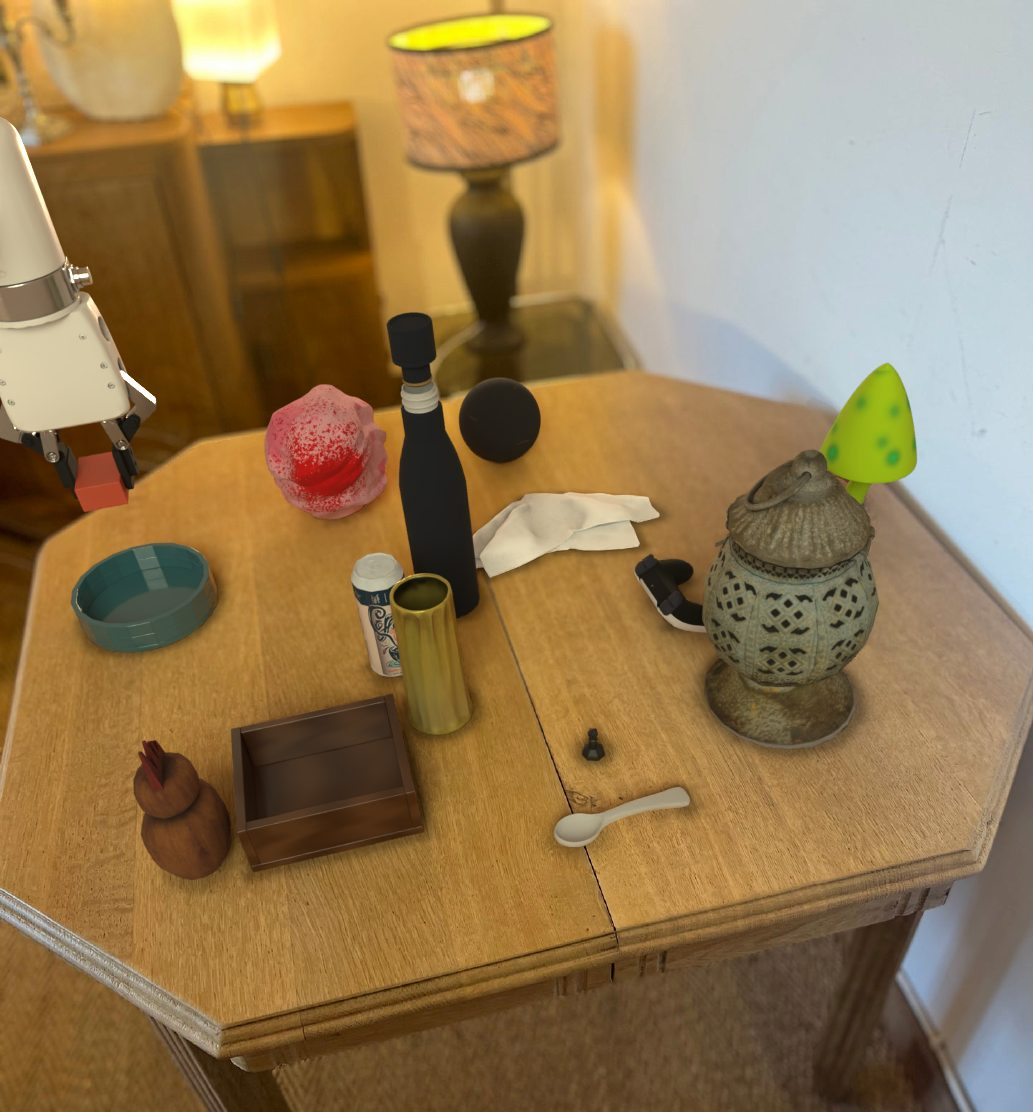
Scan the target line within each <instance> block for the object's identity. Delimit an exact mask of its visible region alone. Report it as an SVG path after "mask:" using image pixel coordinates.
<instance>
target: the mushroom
mask: <svg viewBox="0 0 1033 1112" xmlns="http://www.w3.org/2000/svg"><path fill="white" fill-rule="evenodd" d="M913 417H914V416H913V412H912V407H911V404H910V400H909V396H908V393H907V390H906V388H905V385H904V382H903V381H902V378H901V376H900V374H899V373H898V371H897V369H896V368H895V367H894V366H893V365H892V364H891V363H889V362H885V363H883V364H881V365H879V366H878V367H876V368H875V369H874V370H872V372H870V373H869V374H868V375H867V376H866V377H865V378H864V379H863V380H862V382H861V383H860V384H859V385H858V386H857V387H856V389H855V390H854V391H853V392H852V394H851V396H850V397H849V398H848V399H847V401H846V402H845V404H844V405H843V406H842V408H841V410H840V411H839V413H838V415H837V416H836V418H835V420H834V421H833V424H832V426H830V429H828V430H829V431H828V433H826V436H825V438H824V440H823V441H822V444H821V447H820V449H819V452H821V453H822V454H823V455H824V457H825V458H826V460H827V469H828V470H829V471H830V472H832V473H833V474H835V475H837V476H839V477H842V478H845V479H848V480H849V482H848V485H847V487H846V490H847V492H848V493H849V494H850V495H851V496H852V497H854V498H855V499H856V500H857V501H858V502H859V503H860V504H861V505H862V506H863V503H864V500H865V499H866V496H867V493H868V491H869V490H870V488H871V485H872V484H887V483H893V482H898V481H899V480H902V479H904V478H907V477H908V476H910V475H911V474H912V473H913V472H914V470H916V467H917V464H918V449H917V448H918V447H917V437H916V431H915V424H914V418H913Z"/></svg>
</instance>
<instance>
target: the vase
mask: <svg viewBox="0 0 1033 1112" xmlns="http://www.w3.org/2000/svg"><path fill="white" fill-rule="evenodd" d="M389 598H390V606H391V612H392V617H393V622H394V627H395V633H396V639H397V646H398V652H399V658H400V664H401V670H402V675H401V677H402V682H403V686H404V691H405V695H406V699H407V719H408V722H409V724H410V725H411V726H412V727H413V728H414V729H415V730H417V731H419V732H421V733H423V734H426V735H431V736H443V735H447V734H451V733H453V732H456V731H458V730H460V729H462V727H464V726H465V725H466V724H467V723H468V722H469V721H470V719H471V717H472V716H473V711H474V710H473V709H474V703H473V701H472V699H471V696H470V692H469V687H468V681H467V676H466V668H465V667H466V666H465V663H464V657H463V651H462V645H461V641H460V636H459V628H458V621H457V618H456V614H455V607H454V601H453V594H452V590H451V586H450V584H449V582H448V581H447V580H446V579H444V578H443V577H441V576H439V575H436V574H430V573H421V574H415V575H414V574H411V575H409V576H406V577H405V578H404V579H402V580H400V581H399V582H398V583H396V584H395V585H394V586H393V588H392V590H391V592H390V596H389Z"/></svg>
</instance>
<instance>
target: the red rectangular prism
mask: <svg viewBox="0 0 1033 1112" xmlns="http://www.w3.org/2000/svg"><path fill="white" fill-rule="evenodd" d="M77 461H78V462H77V464H78V470H77V477H76V482H75V492H76V495H77V497H78V499H77V500H78V501H79V504H80V506H81V509H82V510H83V512H84V513H87V512H93V511H98V510H102V509H108V508H114V507H119V506H124V505H129V495H130V494H129V493H130V490H128V489H126V487H125V485H124V482H123V479H122V477H121V474H119V471H118V469H117V466H116V464H115V461H114V458H113V456H112V451H108V452H103V453H96V454H91V455H86V456H79V457H78V460H77Z"/></svg>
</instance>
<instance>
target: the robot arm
mask: <svg viewBox="0 0 1033 1112" xmlns="http://www.w3.org/2000/svg"><path fill="white" fill-rule="evenodd" d="M91 285H94V282H93V276H92V274H91V271H90V268H89V267H88V266H85V267H78V266H74V265H73V264H72V263H70V261H69V258H68V257H67V256H65V254H64V250H63V248H62V245H61V243H60V240H59V237H58V235H57V232H56V229H55V226H54V224H53V220H52V218H51V215H50V213H49V210H48V207H47V205H46V202H45V199H44V196H43V194H42V191H41V189H40V185H39V183H38V180H37V178H36V174H35V172H34V169H33V167H32V163H31V162H30V158H29V156H28V153H27V150H26V148H25V145H24V144H23V141H22V138H21V135H20V134H19V132H18V131H17V128H16V127H15V126H14V125H13V124H12V123H11V122H10V121H9V120H7V119H6V118H4V117H2V116H0V400H1V405H0V439H2V440H5V441H9V442H12V443H14V444H15V443H16V444H21V445H22V446H23V447H25V448H27V449H29V450H31V451H33V452H35V453H37V454H39V455H41V456H43V457H44V458H45V461H47V462H49V463H51V464H52V465H53V466H54V468H55V472H56V473H57V475H58V478H59V480H60V482H61V484H62V487H63V488H64V489H70V491H71V494H72V496H73V498H74V500H79V499H78V497H77V495H76V492H75V482H76V477H77V470H78V462H77V459H76V457H75V455H74V452H73V450H72V448H71V447H69V445H68V444H66V443H64V442H63V441H62V437H61V432H60V430H62V429H68V428H69V429H70V428H74V427H81V426H85V425H91V424H97V423H100V424H101V426H102V428H103V429H104V431H105V432H106V434H107V437H109V439H110V441H111V445H112V449H111V450H112V451H111V452H112V456H113V458H114V461H115V464H116V466H117V469H118V471H119V474H121V477H122V479H123V482H124V485H125V487H126V489H128V490H129V491H130V490H134V489H135V476H139V475H140V468H139V464H138V461H137V459H136V456H135V453H134V451H133V448H132V445H131V443H130V442H132V440H133V438H134V436H135V435H136V433H137V432H138V430H139V429H140V427H141V425H142V424H143V423H144V422H145V421H147V420H148V419H149V418H150V417H151V416H152V415H153V414H154V413H155V412H156V411H157V407H158V400H157V399H156V397H155V396H154V395H153V394H151V393H150V392H149V391H148V390H146V389H145V388H144V387H143V386H141V385H140V383H138V382H136V381H135V380H134V379H133V378H132V377H131V376H130V375H129V374H128V371H127V370H126V366H125V364H124V361H123V360H122V357H121V354H120V353H119V352H120V351H119V350H118V348H117V346H116V345H117V344H116V343H115V341H114V339H113V336H112V334H111V332H110V330H109V328H108V325H107V324H106V322H105V320H104V319H105V318H103V315H102V314H101V312H100V310H99V308H98V306H97V305H96V303H95V302H94V300H93V298H92V297H91V295H90V293H88V292H86V291H81V289H83V288H85V287H86V286H91ZM130 401H131V402H132V403H133V404H134V405H133V407H131V403H130Z"/></svg>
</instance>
